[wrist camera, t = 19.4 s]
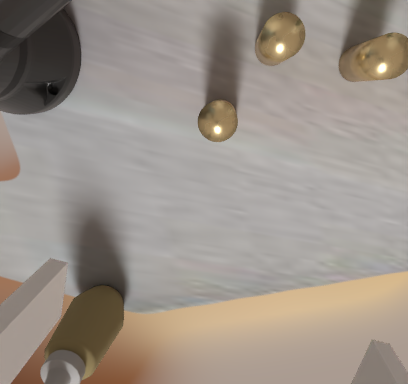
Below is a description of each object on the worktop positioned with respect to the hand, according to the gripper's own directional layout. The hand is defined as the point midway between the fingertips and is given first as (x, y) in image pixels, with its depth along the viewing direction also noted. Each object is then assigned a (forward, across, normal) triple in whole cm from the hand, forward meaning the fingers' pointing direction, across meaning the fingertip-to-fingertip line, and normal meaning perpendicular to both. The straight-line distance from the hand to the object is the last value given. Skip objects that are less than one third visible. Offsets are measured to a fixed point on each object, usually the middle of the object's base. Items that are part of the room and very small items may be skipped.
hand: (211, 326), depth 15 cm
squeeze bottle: (+32, -12, -25) cm, 42 cm away
